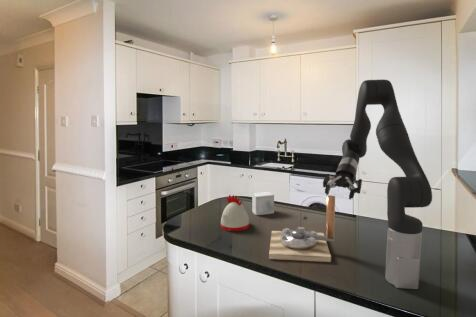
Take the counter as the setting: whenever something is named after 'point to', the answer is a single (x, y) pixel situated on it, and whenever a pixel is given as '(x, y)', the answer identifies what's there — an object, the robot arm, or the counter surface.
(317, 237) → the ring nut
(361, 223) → the counter surface
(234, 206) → the kitchen timer
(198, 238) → the counter surface
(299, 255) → the nut base plate
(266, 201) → the skincare box
